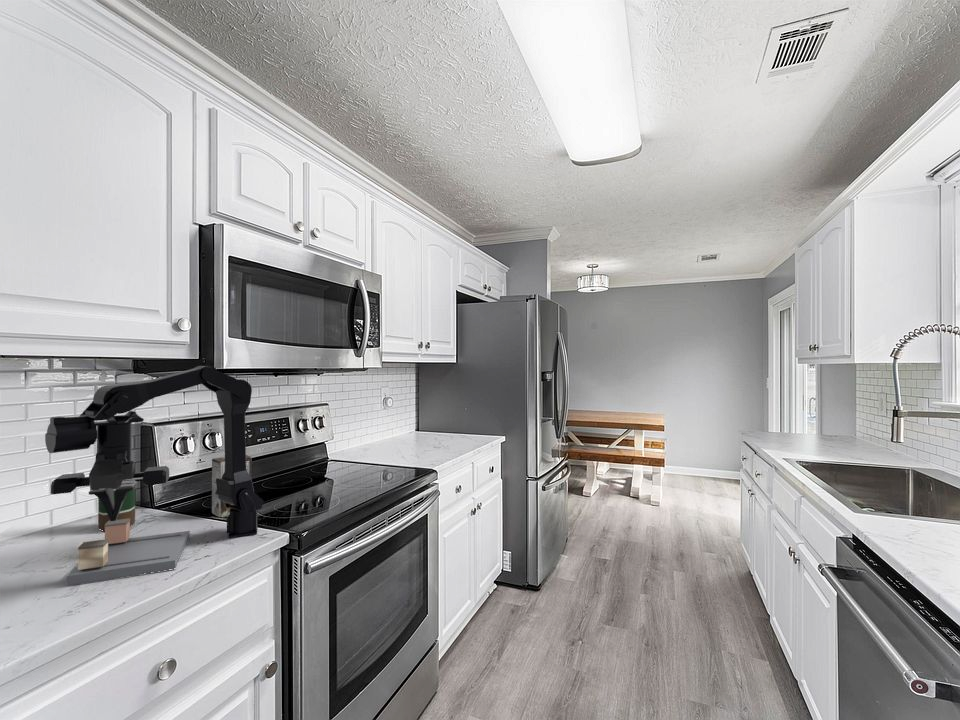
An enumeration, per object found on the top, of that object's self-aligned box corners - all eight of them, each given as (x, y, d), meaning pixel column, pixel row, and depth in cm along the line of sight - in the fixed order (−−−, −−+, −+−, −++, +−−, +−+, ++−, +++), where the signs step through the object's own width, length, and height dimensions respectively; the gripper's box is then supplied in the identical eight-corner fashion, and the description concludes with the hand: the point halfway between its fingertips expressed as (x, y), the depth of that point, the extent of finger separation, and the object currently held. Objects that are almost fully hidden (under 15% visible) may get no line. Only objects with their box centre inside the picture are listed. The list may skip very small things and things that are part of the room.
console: (189, 538, 115) (189, 530, 115) (175, 569, 98) (175, 559, 98) (99, 550, 108) (99, 541, 108) (66, 586, 91) (66, 575, 91)
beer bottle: (115, 533, 119) (116, 439, 119) (90, 531, 120) (90, 439, 120) (142, 522, 127) (142, 435, 127) (117, 521, 128) (118, 434, 128)
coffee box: (243, 506, 142) (243, 453, 142) (252, 510, 138) (253, 456, 138) (210, 513, 135) (211, 458, 135) (219, 518, 131) (220, 461, 131)
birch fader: (108, 560, 97) (108, 539, 97) (103, 566, 94) (103, 544, 94) (83, 564, 95) (83, 542, 95) (77, 570, 92) (77, 547, 92)
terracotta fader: (130, 537, 110) (130, 518, 110) (126, 541, 107) (126, 522, 107) (108, 539, 108) (108, 520, 108) (104, 544, 105) (104, 524, 105)
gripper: (40, 456, 85) (39, 541, 85) (162, 448, 94) (161, 525, 93) (61, 446, 95) (60, 523, 95) (169, 440, 103) (169, 510, 103)
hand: (113, 520), depth 96 cm, fingers closed
